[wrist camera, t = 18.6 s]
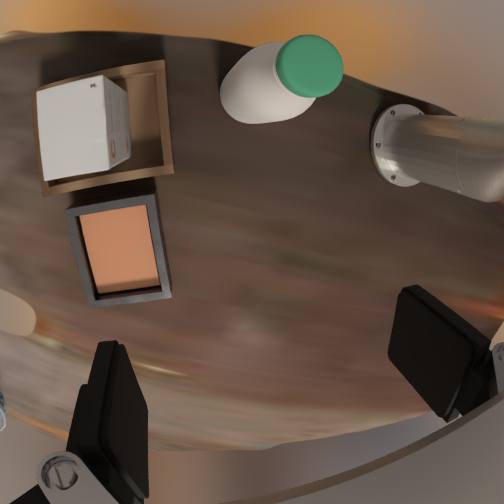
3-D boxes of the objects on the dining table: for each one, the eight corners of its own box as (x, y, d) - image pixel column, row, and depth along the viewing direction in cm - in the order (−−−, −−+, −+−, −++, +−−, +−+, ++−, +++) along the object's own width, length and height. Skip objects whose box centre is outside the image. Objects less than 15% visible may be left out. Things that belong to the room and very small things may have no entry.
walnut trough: (165, 66, 33) (164, 59, 30) (174, 169, 38) (174, 173, 34) (43, 92, 30) (31, 89, 27) (54, 190, 35) (43, 197, 32)
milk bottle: (245, 136, 38) (306, 141, 20) (205, 89, 35) (232, 49, 17) (292, 100, 38) (382, 82, 20) (254, 53, 35) (320, -4, 17)
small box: (78, 101, 31) (34, 89, 19) (128, 91, 32) (104, 72, 21) (83, 166, 34) (42, 182, 22) (133, 157, 35) (111, 169, 24)
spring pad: (146, 202, 37) (145, 204, 36) (160, 281, 41) (160, 284, 40) (81, 213, 36) (79, 215, 35) (100, 289, 39) (98, 293, 39)
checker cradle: (156, 188, 38) (154, 194, 35) (171, 283, 43) (171, 297, 40) (74, 202, 36) (64, 209, 33) (96, 293, 41) (90, 308, 38)
